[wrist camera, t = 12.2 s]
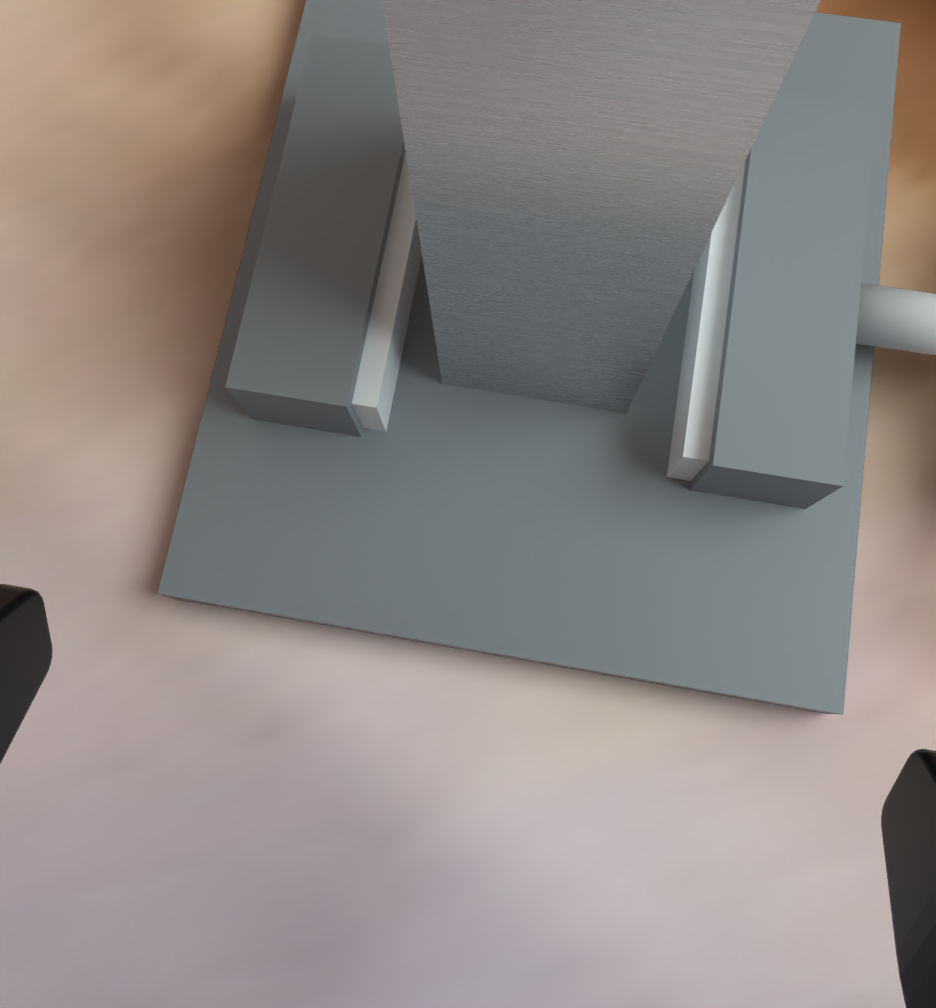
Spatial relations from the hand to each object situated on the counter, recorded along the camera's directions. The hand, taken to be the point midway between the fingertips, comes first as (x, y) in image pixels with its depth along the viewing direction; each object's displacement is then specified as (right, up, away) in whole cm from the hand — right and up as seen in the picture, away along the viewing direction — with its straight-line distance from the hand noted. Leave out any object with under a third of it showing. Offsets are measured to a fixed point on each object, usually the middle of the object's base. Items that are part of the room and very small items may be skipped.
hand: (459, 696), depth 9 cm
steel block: (+2, +7, +10) cm, 13 cm away
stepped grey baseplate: (+4, +6, +11) cm, 13 cm away
